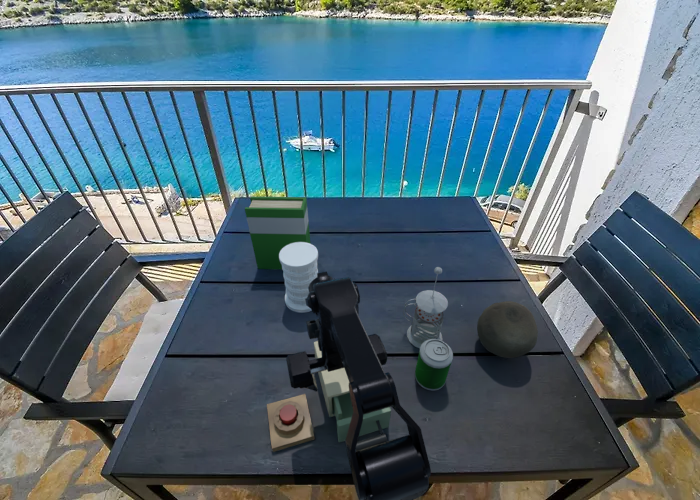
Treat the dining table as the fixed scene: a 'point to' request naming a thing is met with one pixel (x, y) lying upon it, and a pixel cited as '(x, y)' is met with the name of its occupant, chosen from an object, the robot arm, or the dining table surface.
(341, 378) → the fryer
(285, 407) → the red button
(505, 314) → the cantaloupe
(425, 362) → the soda can
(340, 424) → the drawer
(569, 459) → the dining table surface
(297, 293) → the decorative container
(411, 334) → the french press
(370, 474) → the robot arm
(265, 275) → the dining table surface
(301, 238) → the hardback book
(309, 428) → the control block
